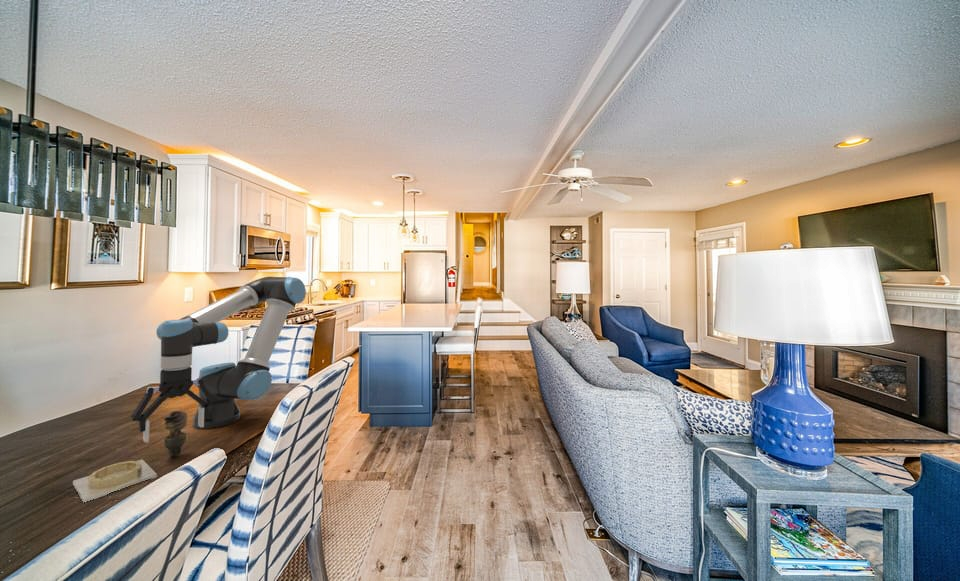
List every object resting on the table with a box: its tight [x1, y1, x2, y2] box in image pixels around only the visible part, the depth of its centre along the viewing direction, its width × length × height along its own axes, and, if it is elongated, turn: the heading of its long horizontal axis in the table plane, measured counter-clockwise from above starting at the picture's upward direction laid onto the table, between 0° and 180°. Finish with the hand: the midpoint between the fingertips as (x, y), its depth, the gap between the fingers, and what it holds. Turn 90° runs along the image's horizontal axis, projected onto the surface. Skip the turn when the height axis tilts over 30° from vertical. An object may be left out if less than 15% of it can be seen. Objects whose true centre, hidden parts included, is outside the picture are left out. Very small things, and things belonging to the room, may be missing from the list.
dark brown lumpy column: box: [163, 410, 188, 459], centre depth 109 cm, size 6×6×15 cm
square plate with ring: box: [72, 459, 158, 504], centre depth 96 cm, size 14×14×3 cm
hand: (174, 433), depth 109 cm, fingers open, 13 cm apart
